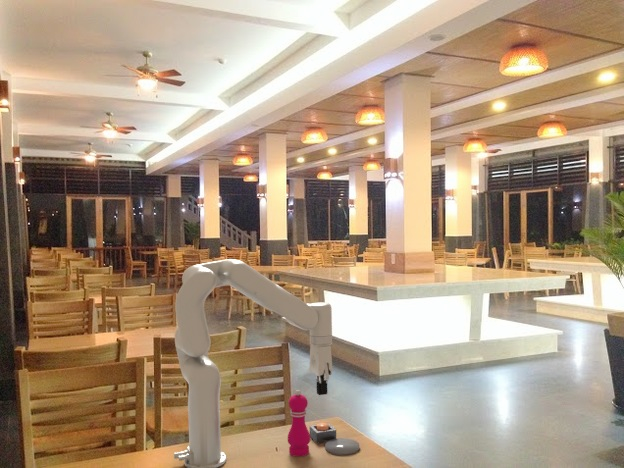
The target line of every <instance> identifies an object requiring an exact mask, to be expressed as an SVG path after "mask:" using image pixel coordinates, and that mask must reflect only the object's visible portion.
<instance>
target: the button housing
mask: <svg viewBox="0 0 624 468" xmlns="http://www.w3.org/2000/svg"><path fill="white" fill-rule="evenodd" d="M326 423H327V424H328V425H329V430H325V431H317V424H313V425H309V434H310V439H312V440H313V441H314V442H315V443H316V444H323V443H327V442H328V441H330V440H332V439H337V429H336V428H335V427H334V426H333V425H332V424H330V423H329V422H326Z"/></svg>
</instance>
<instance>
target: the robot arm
mask: <svg viewBox="0 0 624 468" xmlns="http://www.w3.org/2000/svg"><path fill="white" fill-rule="evenodd" d="M181 281H182V285H181V286H180V289H179V291H178V293H177V294H176V297H175V304H174V308H175V309H174V311H175V316H176V322H177V328H176V330H175V332H174V344H175V345H174V346H175V350H176V355H177V359H178V364H179V368H180V371H181V372H180V373H181V375H182V377H183V378H184V380H185V381H186V382H187V384H188V396H187V415H188V440H189V441H188V446H187V447H186V449H184V450H183V451H175V452H173V459H174V460H177V459H178V461H179V462H180V461H184V463H183V464H184V466H185V467H186V468H220V467H221V466H222V465H224V464H225V463H226V461H227V456H226V454H225V452H223V451H222V449H221V447H222V446H221V445H222V443H221V437H222V436H221V411H220V410H221V409H220V398H221V397H220V396H221V395H220V393H221V385H222V377H221V372H220V369H219V367H218V366H217V365H216V363H215V362H213V361H212V359H210V357H209V353H208V352H209V351H210V350H211V349H210V348H211V343H212V340H211V335H210V331H209V328H208V326H209V325H208V322H207V317H206V312H205V303H206V300H207V298H208V296H209V295H210V294H211V293H212V292H213V291H214V290H215V288H219V287H224V286H230V287H232V288H233V289H234V290H236V291H237V292H238V293H241V294H242V295H244V296H245V297H246V298H248V299H249V300H250V301H253V302H254V303H256V304H257V305H259V306H261V307H262V308H265V309H267V310H269V311H271V312H274V313H275V314H278V315H280V316H281V317H283V318H284V319H285V321H286V322H287V323H288V324H290V325H291V326H293V327H296V328H299V329H301V330H303V331H309V345H310V349H309V370H310V371H311V372H312V373H313V374H314V375H315V379H316V380H315V381H316V394H317V395H318V396H323V395H328V381H329V380H330V376H331V375H332V373H333V357H332V348H331V346H332V345H333V325H332V324H333V322H332V321H333V319H332V318H333V317H332V315H333V314H332V310H333V309H332V305H331V304H330V303H328V302H323V301H322V302H320V301H319V302H313V303H306V302H305V301H304V300H302V299H301V298H299V297H297V296H296V295H294V294H292V293H290V292H289V291H288V290H286V289H285V288H283V287H282V286H280V285H279V284H277V283H276V282H274V281H272V280H271V279H269V278H268V277H266V276H265V275H263V274H262V273H261V272H259V271H258V270H257V269H255V268H253V267H252V266H250V265H249V264H247V263H246V262H244V261H242V260H239V259H233V258H228V259H227V258H226V259H221V260H217V261H211V262H205V263H200V264H198V263H197V264H195V265H191V266H189V267H187V268H186V269H185V270H184V271H183V273H182V277H181Z"/></svg>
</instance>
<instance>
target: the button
mask: <svg viewBox="0 0 624 468" xmlns="http://www.w3.org/2000/svg"><path fill="white" fill-rule="evenodd" d="M327 423H328V422H320V423H317V424H316V425H317V431H325V430H329V425H328V424H327Z"/></svg>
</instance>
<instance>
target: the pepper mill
mask: <svg viewBox="0 0 624 468" xmlns="http://www.w3.org/2000/svg"><path fill="white" fill-rule="evenodd" d="M294 393H295V394H293V395H291V396H290V398H289V400H288V406H289V409H290V416H291V418H292V419H291V420H292V421H291V425H290V428H289V431H288V434H287V443H288V444H289V447H288V448H289V450H288V452H289V454H290V456H293V457H305V456H306V455H308V454H309V453H310V449H309V448H310V447H309V443H310V441H311V437H310V430H309V429H308V428H307V425H306V420H305V417H306V415H307V409H306V408H308V399H307V397H306V395H304V394H302V393H301V390H300V389H296V390H295V391H294Z"/></svg>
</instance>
